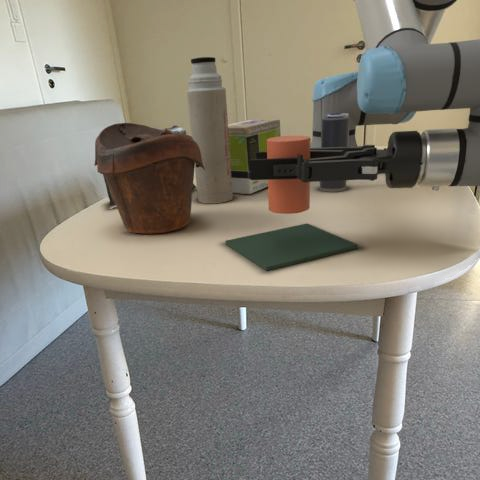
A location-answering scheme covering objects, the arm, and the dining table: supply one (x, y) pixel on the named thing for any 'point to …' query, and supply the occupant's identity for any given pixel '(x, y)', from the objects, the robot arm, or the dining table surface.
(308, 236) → the mat
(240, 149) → the tea box
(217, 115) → the thermos bottle
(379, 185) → the dining table surface
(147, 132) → the brown tapered pot
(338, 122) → the dark grey cylinder
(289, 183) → the orange cylinder
